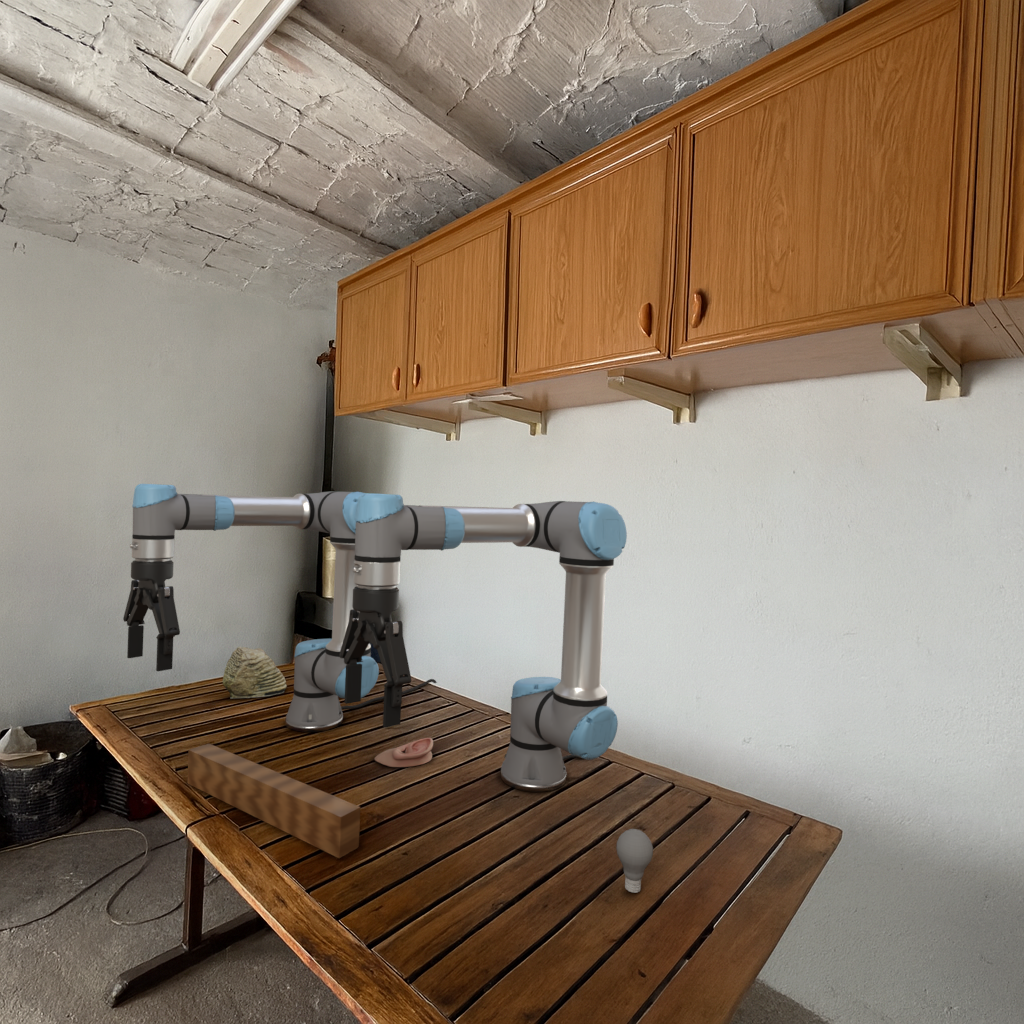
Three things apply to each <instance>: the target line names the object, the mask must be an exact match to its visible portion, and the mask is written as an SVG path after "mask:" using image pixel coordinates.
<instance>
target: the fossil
mask: <svg viewBox="0 0 1024 1024" xmlns="http://www.w3.org/2000/svg"><path fill="white" fill-rule="evenodd" d="M222 676H223V677H222V685H223V687H224V688H225V690H226V691H228V693H229V698H230V699H250V698H264V697H271V696H275V695H281V694H284V693H285V691H286V689H287V687H288V686H287V680H286V678H285V676H284V674H283V673H282V672H281V669H279V668H278V667H277V665H276V663H275V662H274V660H273V659H272V658H271V657H270V656H269V655H268V654H267V653H266V652H265V650H264V649H263V648H260V647H258V648H251V647H247V646H246V647H245V646H238V647H237V648H236V649H235V650H233V651H232V653H231V656H230V657H229V659H228V660H227V663H226V666H225V668H224V671H223V675H222Z"/></svg>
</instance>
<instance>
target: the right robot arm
mask: <svg viewBox="0 0 1024 1024" xmlns="http://www.w3.org/2000/svg"><path fill="white" fill-rule="evenodd" d="M363 493H364V494H362V495H360V496H359V498H358V502H357V508H356V518H355V522H356V531H355V562H354V567H353V569H352V570H353V572H354V583H355V584H356V585H357V586H356V587H355V588H354V589H353V602H352V607H353V609H352V610H350V615H349V623H348V626H347V630H346V633H345V637H344V640H343V643H342V647H341V650H340V655H339V656H340V658H344V663H345V664H346V677H345V699H344V702H343V703H344V704H345V705H348V704H353V703H359V702H361V701H362V698H361V681H362V664H357V663H358V662H363V661H361V660H362V656H363V654H364V652H365V650H366V648H367V646H368V645H369V644H370V645H372V647H373V649H375V650H376V651H377V654H378V656H379V661H380V664H381V667H382V669H383V673H384V676H385V679H386V682H385V683H384V685H383V687H384V688H383V690H384V691H383V696H384V699H383V712H382V727H383V728H385V729H387V728H391V727H394V726H399V725H401V715H402V714H401V713H402V703H403V701H402V699H403V695H402V691H403V686H404V685H407V684H411V683H412V675H411V670H410V666H409V665H410V664H409V660H408V654H407V650H406V644H405V640H404V634H403V633H404V632H403V631H404V630H403V629H404V628H403V626H404V625H403V622H402V620H395V621H393V620H392V613H393V612H396V611H397V610H398V609H399V606H400V605H399V603H400V602H399V601H400V589H399V588H398V587H397V586H398V585H400V584H401V583H400V582H401V556H402V551H410V550H412V551H413V550H415V551H417V550H418V551H419V550H420V551H428V550H429V551H430V550H431V551H432V550H434V551H435V550H436V551H438V550H439V551H442V552H443V551H444V550H454V549H456V548H458V547H459V546H460V545H461V544H465V543H466V544H473V543H474V544H479V543H480V544H483V543H484V544H490V543H492V544H493V543H497V544H498V543H512V544H513V545H515V546H516V547H520V548H525V547H526V548H535V549H541V550H544V551H550V552H553V553H557V554H558V553H559V556H558V559H559V560H558V564H559V565H560V566H561V567H562V569H563V570H564V571H565V583H564V584H565V585H564V602H563V603H564V604H563V605H564V606H563V625H562V627H563V628H562V646H561V649H562V650H561V667H560V668H561V671H560V678H557V677H553V676H529V677H524V678H521V679H518V680H516V681H515V682H514V684H513V686H512V693H511V696H510V702H511V703H510V731H509V732H510V735H509V745H508V748H507V751H506V753H505V755H504V758H503V759H504V760H503V761H502V764H501V766H500V778H501V780H502V782H503V783H504V784H506V785H507V786H509V787H511V788H513V789H516V790H519V791H523V792H529V793H532V792H533V793H545V792H551V791H555V790H557V789H560V788H561V787H563V786H564V785H565V784H566V782H567V768H566V765H565V760H568V759H583V760H588V761H589V760H590V761H591V760H595V759H598V758H599V757H601V756H603V755H604V754H605V753H606V752H607V751H608V749H609V748H610V747H611V745H612V744H613V742H614V740H615V739H616V738H615V737H616V735H617V731H618V726H619V725H618V724H619V721H618V715H617V714H616V713H615V711H614V710H613V709H612V708H611V707H610V706H608V691H607V689H606V688H605V687H604V686H603V685H602V663H603V644H604V625H605V624H604V623H605V603H606V602H605V600H606V599H605V598H606V582H607V581H606V580H607V579H606V578H607V573H609V572H610V570H612V569H613V568H614V567H615V566H614V565H615V564H614V563H615V559H616V558H618V557H620V555H621V554H622V553H623V549H625V547H626V544H627V537H628V535H627V534H628V533H627V527H626V523H625V520H624V517H623V516H622V515H621V514H620V512H619V511H618V510H617V508H616V507H614V506H613V505H611V504H609V503H603V502H597V501H570V500H569V501H567V500H555V501H554V500H553V501H546V502H536V503H535V502H534V503H518V504H515V505H514V506H513V507H493V506H491V507H490V506H489V507H487V506H457V505H456V506H455V505H454V506H453V505H452V506H451V505H421V504H420V505H416V504H412V505H411V504H404V499H403V496H402V495H401V494H394V493H393V494H391V493H373V492H372V493H371V492H369V493H367V492H363ZM347 649H349V650H348V651H347ZM562 751H565V752H567V753H569V754H568V755H565V756H563V753H562Z"/></svg>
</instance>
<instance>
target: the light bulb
mask: <svg viewBox="0 0 1024 1024" xmlns="http://www.w3.org/2000/svg"><path fill="white" fill-rule="evenodd" d="M615 849H616V854H617V857H618V859H619V861H620V863H621V865H622V867H623V873H624V874H623V875H624V876H625V878H624V888H625V890H627V891H628V892H630V893H634V894H635V893H639V892H640V891H641V889H642V887H641V886H642V879H643V877H644V875H645V871H646V868H647V867H648V866H649V864H650V863H651V861H652V859H653V855H654V847H653V843H652V841H651V838H649V836H648V835H647V834H646V833H645V832H643V831H642V830H641V829H636V828H629V829H627V830H625V831H623V832H622V833H621V834H620V835H619V837H618V839H617V841H616V847H615Z"/></svg>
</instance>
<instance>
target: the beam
mask: <svg viewBox="0 0 1024 1024" xmlns="http://www.w3.org/2000/svg"><path fill="white" fill-rule="evenodd" d="M187 753H188V756H187V758H188V759H187V782H186V783H187V785H189V786H191V787H193V788H195V789H198V790H199V791H201V792H203V793H206V794H207V795H210V796H212V797H213V798H216V799H217V800H220V801H222V802H224V803H226V804H228V805H230V806H232V807H234V808H236V809H237V810H240V811H242V812H244V813H246V814H248V815H250V816H252V817H254V818H256V819H258V820H260V821H262V822H265V823H266V824H268V825H271V826H273V827H275V828H277V829H278V830H280V831H282V832H284V833H286V834H288V835H291V836H292V837H294V838H297V839H299V840H301V841H303V842H305V843H307V844H309V845H311V846H313V847H315V848H317V849H319V850H321V851H322V852H325V853H327V854H329V855H331V856H333V857H335V858H337V859H341V858H342V857H344V856H347V855H348V854H349V853H351V852H353V851H354V850H356V849H358V848H359V847H360V829H361V827H360V826H361V806H359V805H356V804H354V803H352V802H349V801H347V800H344V799H342V798H340V797H338V796H336V795H333V794H331V793H329V792H326V791H323V790H321V789H318V788H317V787H314V786H312V785H309V784H306V783H304V782H302V781H300V780H297V779H295V778H292V777H290V776H288V775H285V774H283V773H280V772H278V771H276V770H273V769H271V768H269V767H266V766H264V765H261V764H259V763H256V762H254V761H251V760H249V759H247V758H245V757H243V756H240V755H237V754H235V753H233V752H230V751H228V750H226V749H223V748H221V747H218V746H216V745H213V744H212V743H206V744H203V745H199V746H196V747H193V748H190V749H188V752H187Z"/></svg>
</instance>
